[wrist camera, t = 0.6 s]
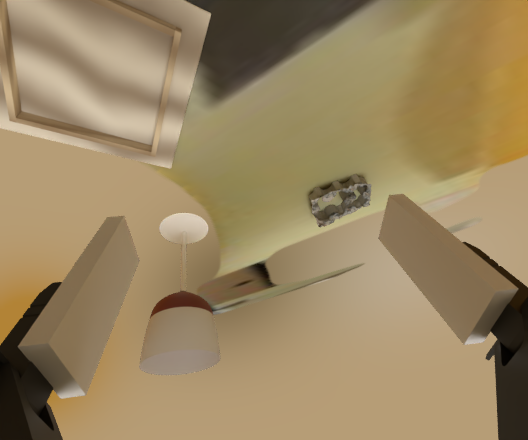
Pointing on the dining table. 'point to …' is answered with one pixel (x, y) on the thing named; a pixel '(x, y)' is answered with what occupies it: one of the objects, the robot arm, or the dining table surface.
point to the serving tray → (100, 72)
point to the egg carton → (347, 197)
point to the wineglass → (181, 315)
